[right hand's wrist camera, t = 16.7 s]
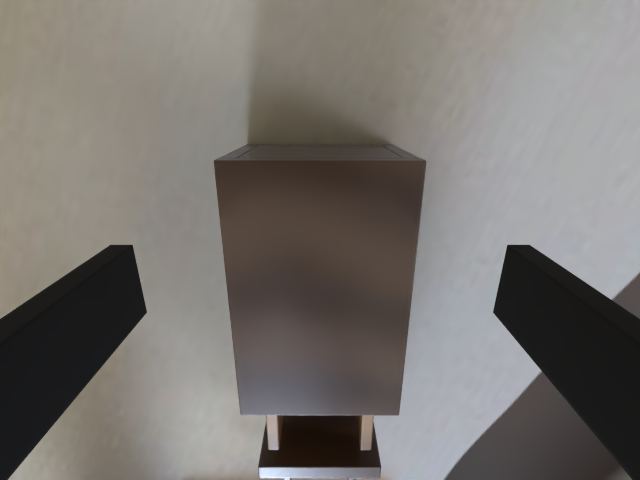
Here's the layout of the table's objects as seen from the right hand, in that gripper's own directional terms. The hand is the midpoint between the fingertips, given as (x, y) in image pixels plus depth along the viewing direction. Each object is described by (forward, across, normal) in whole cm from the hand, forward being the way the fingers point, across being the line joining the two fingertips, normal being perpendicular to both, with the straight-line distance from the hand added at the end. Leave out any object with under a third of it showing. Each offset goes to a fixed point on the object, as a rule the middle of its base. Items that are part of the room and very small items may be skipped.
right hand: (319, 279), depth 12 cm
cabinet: (+14, 0, -5) cm, 14 cm away
